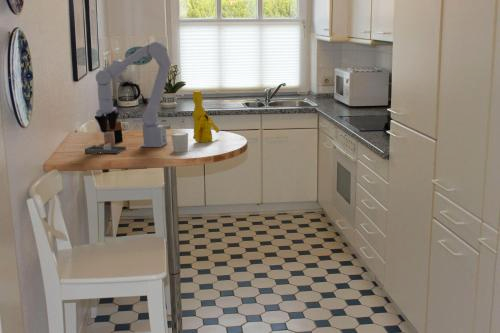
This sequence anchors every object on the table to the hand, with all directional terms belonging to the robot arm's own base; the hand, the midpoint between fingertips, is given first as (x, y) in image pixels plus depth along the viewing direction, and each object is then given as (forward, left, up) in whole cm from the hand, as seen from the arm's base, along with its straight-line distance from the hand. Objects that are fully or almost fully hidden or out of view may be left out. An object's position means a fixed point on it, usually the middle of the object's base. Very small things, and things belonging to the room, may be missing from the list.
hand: (108, 130), depth 270 cm
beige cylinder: (-34, +4, -8) cm, 35 cm away
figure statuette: (-37, -16, -8) cm, 41 cm away
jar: (0, 0, -8) cm, 8 cm away
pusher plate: (-3, +8, -8) cm, 11 cm away
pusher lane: (-3, +8, -8) cm, 11 cm away
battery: (+5, -14, -8) cm, 17 cm away
